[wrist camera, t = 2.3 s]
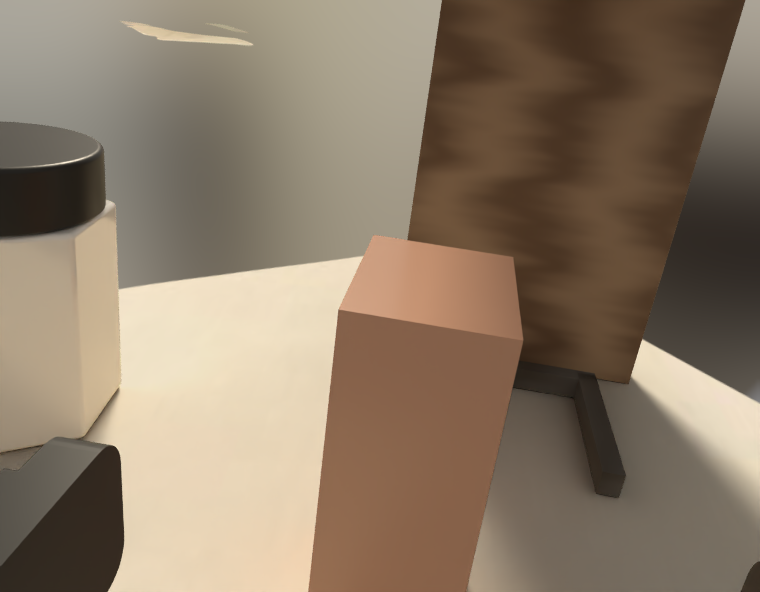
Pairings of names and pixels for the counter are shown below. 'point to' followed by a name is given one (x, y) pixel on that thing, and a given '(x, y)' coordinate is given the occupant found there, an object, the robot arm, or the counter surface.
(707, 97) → the shelf
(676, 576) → the counter surface
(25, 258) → the jar
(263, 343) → the counter surface
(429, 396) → the tall terracotta pillar
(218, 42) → the counter surface
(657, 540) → the counter surface
